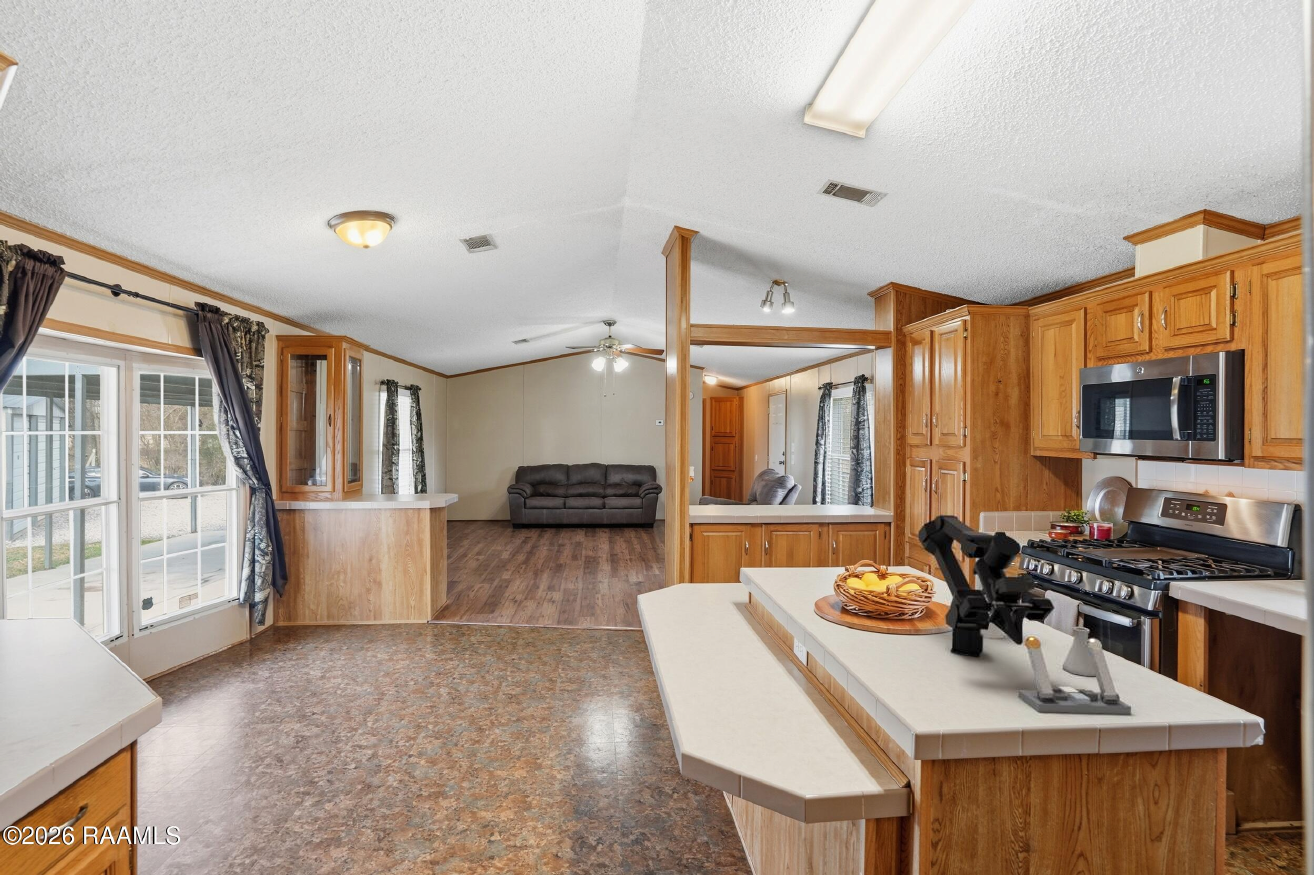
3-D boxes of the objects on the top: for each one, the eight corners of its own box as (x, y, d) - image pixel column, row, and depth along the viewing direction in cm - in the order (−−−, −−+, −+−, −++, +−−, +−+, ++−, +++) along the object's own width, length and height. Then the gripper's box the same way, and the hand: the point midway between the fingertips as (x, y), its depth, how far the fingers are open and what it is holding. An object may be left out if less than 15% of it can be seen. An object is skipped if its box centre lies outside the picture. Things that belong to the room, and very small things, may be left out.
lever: (1099, 702, 128) (1080, 639, 134) (1113, 702, 128) (1094, 640, 134) (1108, 700, 125) (1088, 636, 132) (1122, 700, 125) (1102, 637, 132)
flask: (1105, 678, 144) (1106, 634, 144) (1069, 675, 146) (1070, 631, 146) (1090, 667, 151) (1091, 625, 151) (1056, 664, 153) (1057, 622, 153)
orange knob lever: (1036, 700, 128) (1020, 638, 134) (1050, 700, 128) (1034, 638, 134) (1044, 698, 126) (1027, 635, 132) (1058, 698, 126) (1041, 635, 132)
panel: (1018, 697, 132) (1018, 683, 132) (1106, 699, 132) (1106, 685, 132) (1038, 711, 125) (1038, 697, 125) (1130, 714, 125) (1131, 699, 125)
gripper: (966, 559, 142) (990, 623, 131) (1050, 562, 142) (1081, 625, 131) (949, 587, 150) (971, 649, 139) (1029, 589, 150) (1057, 651, 139)
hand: (1020, 643), depth 137 cm, fingers closed
